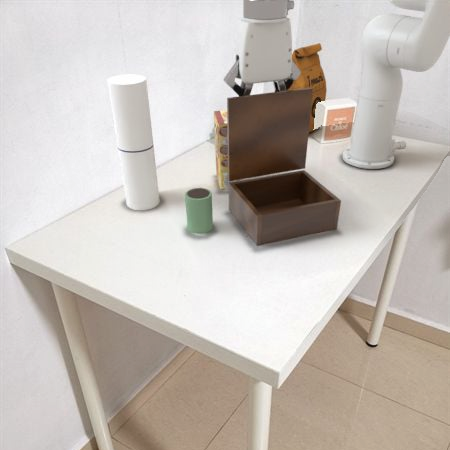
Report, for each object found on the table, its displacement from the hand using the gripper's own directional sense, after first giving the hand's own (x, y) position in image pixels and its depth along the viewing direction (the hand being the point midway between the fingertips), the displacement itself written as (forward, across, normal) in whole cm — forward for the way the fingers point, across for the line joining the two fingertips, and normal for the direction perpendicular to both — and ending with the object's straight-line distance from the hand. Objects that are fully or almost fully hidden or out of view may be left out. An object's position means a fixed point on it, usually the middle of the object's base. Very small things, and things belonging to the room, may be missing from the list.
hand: (261, 116), depth 92 cm
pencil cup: (+18, +16, +8) cm, 25 cm away
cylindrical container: (+18, +24, -8) cm, 31 cm away
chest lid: (+2, 0, +4) cm, 5 cm away
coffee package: (+18, -28, -35) cm, 48 cm away
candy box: (+18, +4, -10) cm, 21 cm away
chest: (+18, 0, +11) cm, 21 cm away
